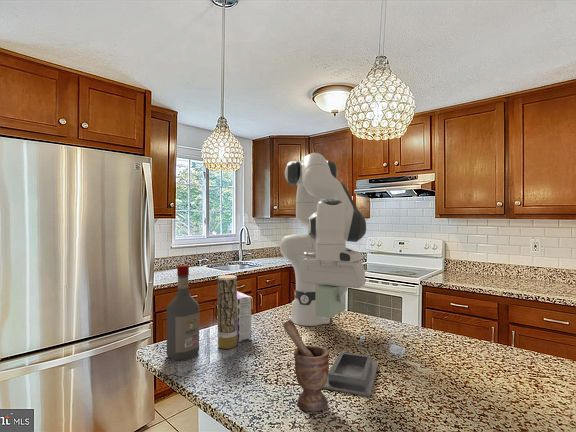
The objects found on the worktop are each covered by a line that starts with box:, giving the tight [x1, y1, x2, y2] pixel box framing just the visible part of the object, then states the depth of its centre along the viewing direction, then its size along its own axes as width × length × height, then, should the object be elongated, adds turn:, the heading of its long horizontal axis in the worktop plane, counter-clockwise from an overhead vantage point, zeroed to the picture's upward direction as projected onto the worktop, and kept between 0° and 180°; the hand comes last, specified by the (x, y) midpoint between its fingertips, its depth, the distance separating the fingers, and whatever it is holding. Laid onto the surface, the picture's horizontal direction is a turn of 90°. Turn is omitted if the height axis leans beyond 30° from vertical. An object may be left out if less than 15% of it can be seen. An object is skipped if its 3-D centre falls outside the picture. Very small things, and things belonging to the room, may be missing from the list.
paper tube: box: [217, 274, 238, 350], centre depth 122 cm, size 7×7×25 cm
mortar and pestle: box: [282, 319, 330, 412], centre depth 84 cm, size 12×9×20 cm
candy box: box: [237, 290, 252, 343], centre depth 133 cm, size 14×6×16 cm, turn 33°
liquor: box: [166, 264, 200, 362], centre depth 115 cm, size 9×9×30 cm
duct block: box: [315, 285, 347, 319], centre depth 101 cm, size 4×11×8 cm, turn 147°
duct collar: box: [322, 351, 379, 398], centre depth 99 cm, size 20×13×3 cm, turn 160°
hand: (331, 300), depth 101 cm, fingers closed on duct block, 4 cm apart
